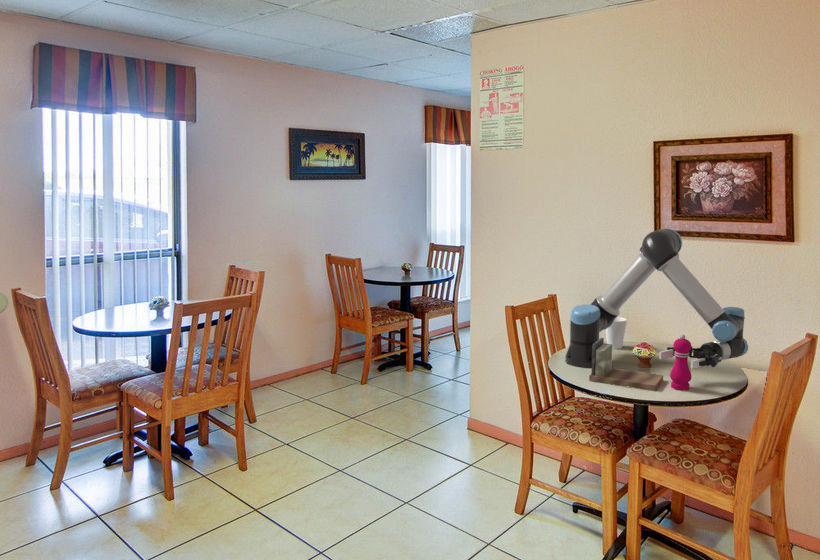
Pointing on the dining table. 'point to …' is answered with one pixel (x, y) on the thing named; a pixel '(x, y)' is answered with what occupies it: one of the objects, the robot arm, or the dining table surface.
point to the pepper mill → (681, 365)
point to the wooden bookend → (618, 370)
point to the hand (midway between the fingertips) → (675, 360)
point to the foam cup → (616, 333)
